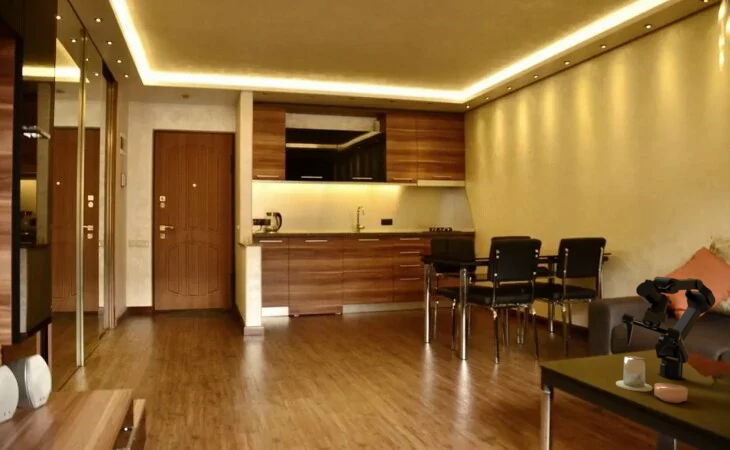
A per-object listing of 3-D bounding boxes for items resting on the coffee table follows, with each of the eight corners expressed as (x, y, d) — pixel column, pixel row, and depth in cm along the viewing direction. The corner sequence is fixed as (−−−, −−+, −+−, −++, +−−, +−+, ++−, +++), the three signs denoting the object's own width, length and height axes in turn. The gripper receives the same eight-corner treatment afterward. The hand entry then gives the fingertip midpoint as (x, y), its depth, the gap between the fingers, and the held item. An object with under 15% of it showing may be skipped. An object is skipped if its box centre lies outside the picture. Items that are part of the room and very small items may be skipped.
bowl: (673, 395, 177) (674, 382, 177) (694, 404, 168) (694, 391, 168) (647, 395, 176) (648, 382, 176) (666, 404, 167) (667, 391, 167)
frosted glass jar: (643, 383, 187) (644, 357, 187) (646, 388, 181) (647, 361, 181) (621, 381, 190) (622, 355, 189) (624, 386, 183) (625, 359, 183)
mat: (638, 381, 192) (638, 380, 192) (659, 391, 181) (659, 389, 181) (609, 381, 190) (609, 380, 190) (628, 391, 179) (628, 390, 179)
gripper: (627, 293, 192) (612, 333, 188) (687, 310, 182) (672, 354, 178) (628, 304, 201) (614, 343, 197) (685, 321, 191) (671, 363, 187)
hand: (642, 350), depth 189 cm, fingers open, 9 cm apart
